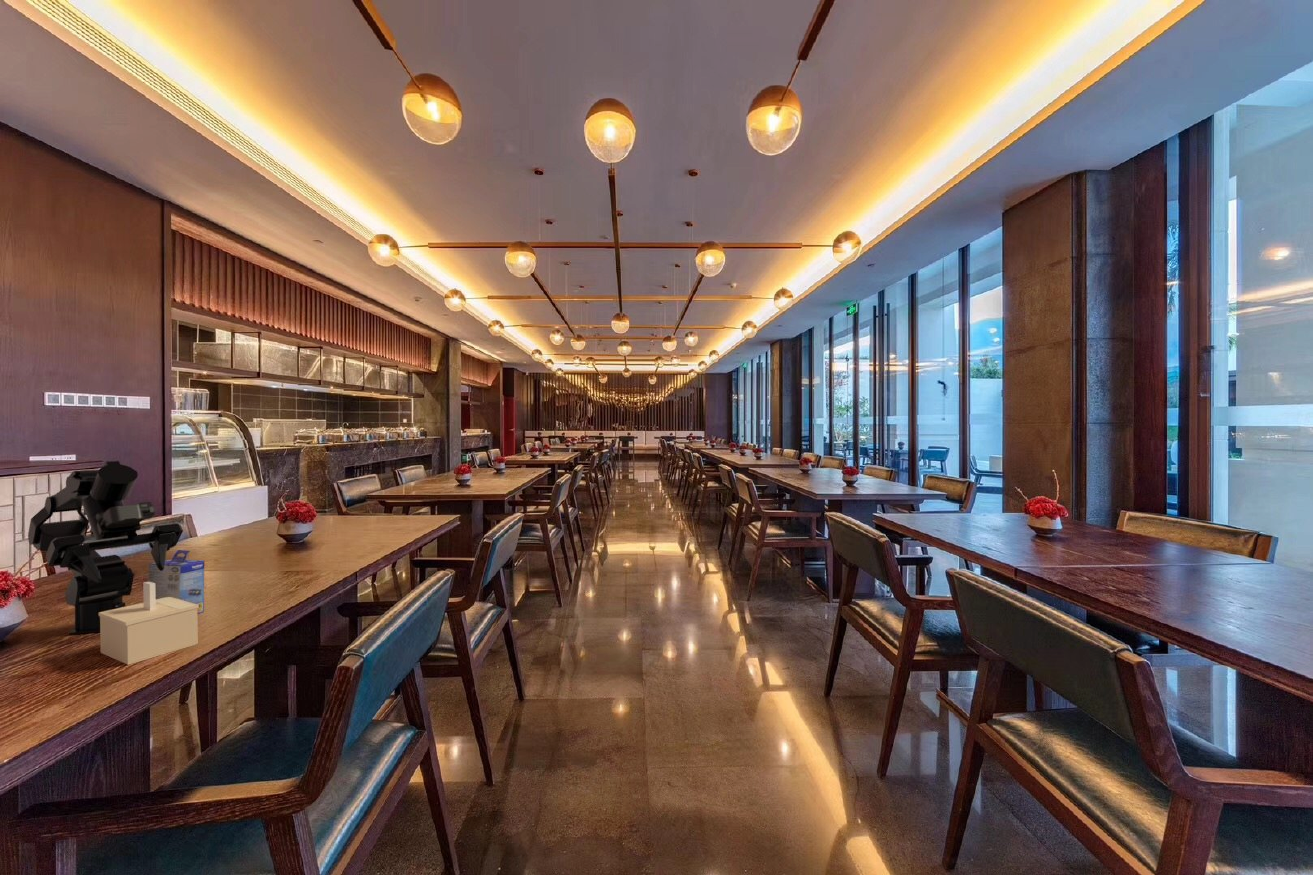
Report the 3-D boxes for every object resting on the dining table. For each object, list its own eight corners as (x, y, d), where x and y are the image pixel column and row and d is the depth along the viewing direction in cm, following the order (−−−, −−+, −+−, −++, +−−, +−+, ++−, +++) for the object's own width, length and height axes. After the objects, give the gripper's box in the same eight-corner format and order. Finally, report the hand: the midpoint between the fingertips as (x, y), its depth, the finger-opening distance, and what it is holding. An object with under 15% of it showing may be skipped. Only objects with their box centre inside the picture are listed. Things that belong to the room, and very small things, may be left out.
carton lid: (98, 615, 96) (98, 586, 96) (170, 599, 105) (169, 572, 105) (125, 625, 90) (125, 594, 90) (198, 607, 100) (198, 579, 100)
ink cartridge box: (206, 611, 118) (206, 549, 118) (180, 619, 113) (179, 555, 113) (173, 608, 120) (173, 548, 120) (146, 617, 115) (145, 553, 115)
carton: (100, 652, 96) (100, 615, 96) (169, 633, 105) (168, 600, 105) (127, 664, 91) (127, 626, 91) (197, 643, 100) (197, 608, 100)
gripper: (50, 495, 95) (73, 560, 90) (178, 486, 112) (203, 540, 107) (36, 534, 98) (58, 598, 94) (162, 519, 115) (186, 573, 110)
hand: (132, 575), depth 101 cm, fingers open, 9 cm apart
